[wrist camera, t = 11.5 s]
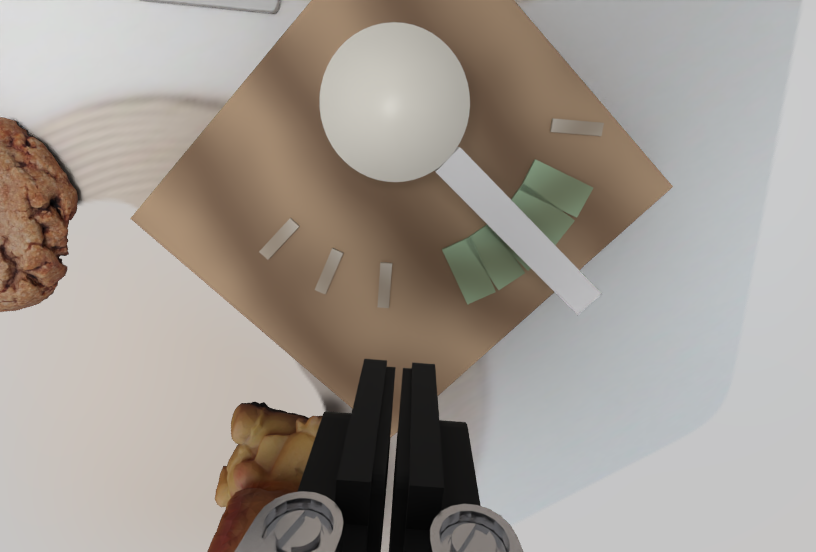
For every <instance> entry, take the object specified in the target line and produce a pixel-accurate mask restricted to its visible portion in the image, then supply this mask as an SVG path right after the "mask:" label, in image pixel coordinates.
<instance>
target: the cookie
mask: <svg viewBox="0 0 816 552" xmlns="http://www.w3.org/2000/svg"><path fill="white" fill-rule="evenodd" d="M77 202H78V197H77V191H76V189H75V188H74V187H73V186H72V184H71V183H70V181H69V179H68V177H67V175H66V173H65V172H64V171H63V170H62V169H61V168H60V166H59V164H58V163H57V161H56V160H55V158H54V157H53V155H52V153H51V152H49V151H48V149H47V148H46V146H45V145H44V144H43V143H42V142H41V141H39V140H37V139H36V138H35V137H33V135H32V136H28V135H27V131H26V130H25V129H23V128H21V127H19V126H18V125H17V123H16V121H13V120H10V119H7V118H2V117H1V118H0V312H4V311H16V310H20V309H22V308H26V307H30V306H33V305H36V304H39V303H40V302H41V301H43V300H44V299H47V298H48V296H50V295H51V294H53V292H54V290H55V287H56V286H57V284H58V281H59V280H60V279H62V277H64V276H65V274H66V272H67V266H65V265H63V264H62V259H60V258H59V256H61V255H63V256H66V255H68V254H69V253H68V251H67V250H68V248H67V242H68V239H67V235H68V229H67V228H68V224H69V220H71V219H72V218H73V216H74V214H75V213H76V211H77Z"/></svg>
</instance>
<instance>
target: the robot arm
mask: <svg viewBox="0 0 816 552" xmlns="http://www.w3.org/2000/svg"><path fill="white" fill-rule="evenodd" d="M395 369H396V367H387V360H375V359H364V362H363V366H362V371H361V375H360V379H359V384H358V388H357V392H356V397H355V401H354V405H353V409H352V414H351V413H338V412H324V414H323V416H322V419H321V422H320V425H319V428H318V431H317V434H316V437H315V440H314V443H313V446H312V449H311V452H310V455H309V458H308V461H307V464H306V467H305V470H304V473H303V476H302V479H301V482H300V485H299V488H298V491H297V492H294V493H288V494H286V495H283V496H281V497H278V498H276V499H274V500H273V501H271V502H270V503H269V504H267V505H266V506H264V508H263V509H262V510H261V511H260V512H259V514H258V515H257V516H256V517H255V519H254V521H253V522H252V524H251V526H250V527H249V529H248V531H247V532H246V534H245V535H244V537H243V539H242V540H241V542H240V544H239V545H238V547H237V548H236V550H235V552H381V542H382V530H383V519H384V508H385V496H386V485H387V474H388V461H389V448H390V435H391V422H392V409H393V395H394V382H395ZM389 552H523V549H522V547H521V545H520V542H519V540H518V537H517V535H516V534H515V532H514V530H513V529H512V527H511V525H510V524H509V523H508V522H507V521H506V520H505V519H503V518H502V517H501V516H500V515H498V514H497V513H495V512H493V511H492V510H490V509H488V508H485V507H481V506H480V500H479V494H478V488H477V482H476V476H475V469H474V463H473V457H472V451H471V445H470V439H469V433H468V427H467V424H466V423H465V422H453V421H441V420H439V411H438V397H437V383H436V369H435V364H426V363H413V362H412V368H403V373H402V385H401V397H400V409H399V422H398V434H397V446H396V459H395V471H394V485H393V500H392V515H391V529H390V544H389Z"/></svg>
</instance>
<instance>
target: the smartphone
mask: <svg viewBox="0 0 816 552" xmlns="http://www.w3.org/2000/svg"><path fill="white" fill-rule="evenodd" d="M143 1H153V2H163V3H172V4H182V5H192V6H202V7H212V8H222V9H232V10H242V11H252V12H262V13H272V14H274V13H277V11H278V10H279V6H280V0H143Z"/></svg>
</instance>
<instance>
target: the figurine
mask: <svg viewBox="0 0 816 552" xmlns="http://www.w3.org/2000/svg"><path fill="white" fill-rule="evenodd" d="M321 419H322V416H312V417H310V418H307V417H305V416H302V415H298V414H295V413H287V412H285V411H281V410H275V409H272V408H269V407H268V406H267V405H266V404H265V403H264V402H263V403H261V404H259V403H257V402H252V403H241V404H240V405H239V406H238V407H237V408H236V409H235V411H234V414H233V417H232V421H231V435H232V439H233V441H235V443H237V444H238V445H237V447H236V449H235V450H234V452H233V454H232V456H231V458H230V459H229V462H228V465H227V466H223V469H222V471H221V473H220V478H219V483H218V486H217V489H216V495H215V500H216V502H217V504H218V505H219V506H220V507H226V510H225V512H224V514H223V515H222V518H221V520H220V523H219V526H218V529H217V532H216V533H215V535H214V538H213V540H212V542H211V544H210V547H209V549H208V552H235V550H236V548H237V547H238V545H239V544H240V542H241V540H242V539H243V537H244V535H245V534H246V532H247V531H248V529H249V527H250V526H251V524H252V522H253V521H254V519H255V517H256V516H257V515H258V514H259V512H260V511H261V510H262V509H263V508H264V506H266V505H267V504H269V503H270V502H271V501H273V500H274V499H276V498H278V497H281V496H283V495H286V494H288V493H294V492H297V491H298V488H299V485H300V482H301V479H302V476H303V473H304V470H305V467H306V464H307V461H308V458H309V455H310V452H311V449H312V446H313V443H314V440H315V437H316V434H317V431H318V428H319V425H320V422H321Z"/></svg>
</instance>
